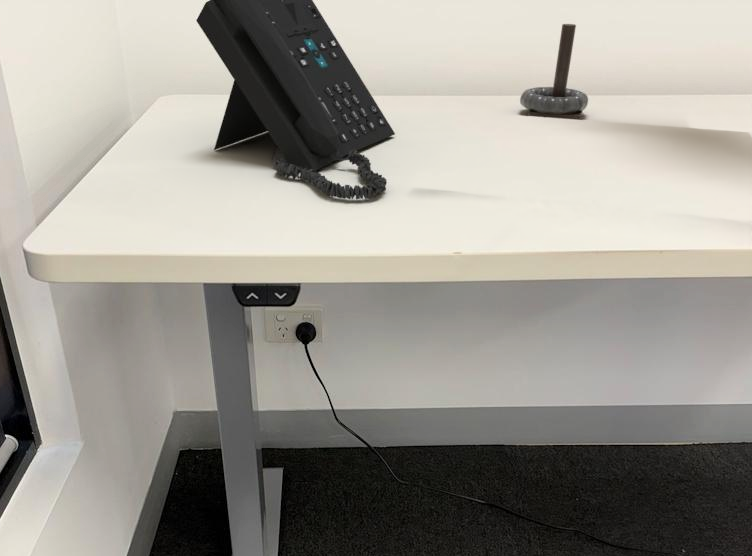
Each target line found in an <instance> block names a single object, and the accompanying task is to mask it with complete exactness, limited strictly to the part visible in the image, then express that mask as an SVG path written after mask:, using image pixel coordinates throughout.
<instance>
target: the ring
mask: <svg viewBox="0 0 752 556" xmlns="http://www.w3.org/2000/svg"><path fill="white" fill-rule="evenodd" d="M552 92H553V86H537V87H532V88H528V89H525V90H523V92H522V93H521V96H520V98H519V103H520V105H521V106H522V107H523V108H525V109H527V110H531V111H536V112H541V113H552V114H569V113H576V112H580V111H582V112H583V111H584V110H586V108H587V107H588V103H589V97H588V95H587V94H586V92H583V91H580V90H578V89H574V88H568V87H566V93H565V97H552Z"/></svg>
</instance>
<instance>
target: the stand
mask: <svg viewBox="0 0 752 556" xmlns="http://www.w3.org/2000/svg"><path fill="white" fill-rule="evenodd" d="M576 28H577V24H574V23H562V25H561V31H560V37H559V43H558V44H559V45H558V51H557V58H556V66H555V72H554V79H553V86H552V87H553V92H552V97H565V93H566V88H567V87H568V86H567V85H568V78H569V74H570V73H569V72H570V66H571V60H572V55H573V54H572V53H573V47H574V40H575V34H576ZM528 110H529V109H528ZM582 115H583V111H580V112H576V113H569V114H552V113H541V112H536V111H531V110H529V111H528V114H527V117H535V118H537V117H538V118H548V119H549V118H550V119H561V120H563V119H564V120H575V121H581V120H582Z"/></svg>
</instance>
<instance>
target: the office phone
mask: <svg viewBox="0 0 752 556" xmlns="http://www.w3.org/2000/svg"><path fill="white" fill-rule="evenodd" d="M195 21H196V23H197V24H198V26H199V27H200V29H201V31H202V32H203V34H204V35H205V37H206V38H207V40H208V41H209V43H210V44H211V46H212V47H213V49H214V51H215V52H216V53H217V55H218V56H219V57H218V58H220V60H221V61H222V63H223V64H224V66H225V68H226V69H227V71H228V72H229V74H230V75H231V77H232V78H233V83H232V87H231V90H230V94H229V97H228V100H227V104H226V107H225V110H224V115H223V118H222V121H221V125H220V128H219V131H218V134H217V138H216V142H215V144H214V148H213V151H216V150H219V149H222V148H224V147H227V145H228V146H230V145H233V144H235V143H239V142H242V141H244V139H245V140H247V139H250V138H253V137H256V136H259V135H262V134H264V133H267V132H268V134H269V136H270V137H271V139H272V140H273V141H274V147H273V151H272V157H271V163H272V164H273V165H274V170H275V171H276V172H277V175H279V176H280V177H282V176H283V177H286V179H288V178H290V177H292V179H293V181H294V180H295V179H296V178H297V179H298V180H299V179H300V181H302V182H307V183H311V185H313V186H314V187H316V188H317V191H320V192H321V193H322V194H324V195H326V196H327V197H331V198H333V197H334V198H335V197H337V198H338V199H343V200H345V199H348V200H353V199H354V198H355V200H363V199H364V200H371V199H373V198H377V197H378V196H379V195H381V193H383V192H385V191H387V187H386V186H387V183H388V181H387V179H386V178H385V177H384V176H383V174H379V172H374V171H373V170H372V169H371V166H372V163H371V162H370V159H369V158H368V157H367V156H366V155H365V154H361V153H359V150H361V149H364V148H366V147H369V146H371V145H373V144H375V143H376V144H377V142H381V141H382V140H385V139H387V138H390V137H393V136H394V135H396V133H395V131H394V130H393V128H392V126H391V125H390V123H389V122H388V120H387V118H386V117H385V115H384V114H383V112H382V110H381V108H380V107H379V105H378V104H377V102H376V101H375V99H374V96H373V95H372V94H371V92H370V91H369V89H368V87H367V86H366V85H365V83H364V81H363V79H362V78H361V76H360V74H359V73H358V71H357V70H356V68H355V67H354V65H353V63H352V62H351V60H350V58H349V57H348V55H347V53H346V52H345V51H344V48H343V47H342V45H341V44H340V43H339V41H338V39H337V38H336V35H334V33H333V31H332V29H331V27H330V26H329V24H328V23H327V22H326V20H325V18H324V16H323V15H322V13H321V12H320V10H319V8H318V7H317V5H316V4H315V2H314V1H313V0H207V1H206V2H205V3H204V5H203V7H202V9H201V10H200V13H199V15H198V17H197V18H196V20H195ZM241 140H242V141H241ZM276 147H277V148H278V150H279V151H280V153H281V154H282V156H283V157H282V158H279V159H278V157H277V155H276V149H277V148H276ZM345 156H347V157H346V158H343V157H345ZM336 161H349V164H350V163H351V165H352V166H353V165H355V166H356V167H357V173H358V175H359V177H360V178H361V180H362V181H364V183H366V185H363V186H362V187H361V186H360V185H359V184H356V185H354V186H351V185H350V184H344V185H341V184H340V182H337V183H335V182H333V181H332V180H329V179H328V178H326V176H325V175H322V173H320V171H317V170H319V169H321V168H324V167H326V166H328V165H329V164H331V163H334V162H336Z"/></svg>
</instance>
